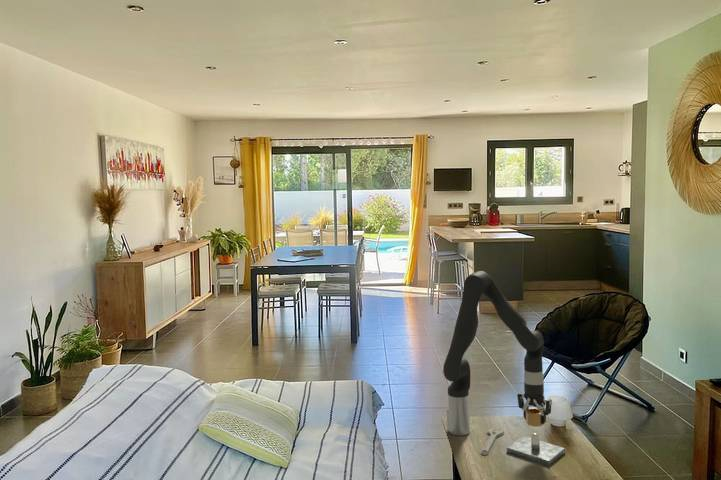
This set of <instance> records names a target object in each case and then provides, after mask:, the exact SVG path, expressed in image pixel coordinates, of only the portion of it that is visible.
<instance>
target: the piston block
mask: <svg viewBox="0 0 721 480" xmlns="http://www.w3.org/2000/svg"><path fill="white" fill-rule="evenodd" d="M506 453H509V454H512V455H515V456H517V457H520V458H523V459H527V460H530V461H533V462H535V463H539V464H542V465H544V466H548V467H550V466H551V465H552V464H553V463H554V462H556V461H557V460H558V459H559V458H560V457H562V456H563V455H564V454H565V453H566V450H565V447H562V446H560V445H556V444H553V443H549V442H545V441H542V440H540V434H538V433H537V432H534V433H532V434H531V435H530V437H529V436H526V435H522V436H521V437H519V438H517V440H515V441H514V442H512V443H511V444H509V445H508V446H507V447H506Z"/></svg>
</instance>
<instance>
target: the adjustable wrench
mask: <svg viewBox="0 0 721 480" xmlns="http://www.w3.org/2000/svg"><path fill="white" fill-rule="evenodd" d="M487 434H488V435H489V438H488V439H487V441H486V443H484V446H483V447H482V449H481V455H483V456H487V455H489V453H490V451H491V449H492V447H493V445H494V443H495V441H496V439H497V438H499V437H501V436H503V435H504V434H505V430H504V429H503V428H501V427H499V430H494V428H493V427H490V428H488V430H487Z"/></svg>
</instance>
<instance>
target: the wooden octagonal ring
mask: <svg viewBox="0 0 721 480" xmlns="http://www.w3.org/2000/svg"><path fill="white" fill-rule="evenodd" d="M525 423H526V424H527V425H528V426H531V427H534V428H535V427H542V426H543V425H544V424H541V413H540V411H539V410H538V409H537V407H529V408H528V409H527V410H526V420H525Z"/></svg>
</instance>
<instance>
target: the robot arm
mask: <svg viewBox="0 0 721 480" xmlns="http://www.w3.org/2000/svg"><path fill="white" fill-rule="evenodd" d="M482 295H484V296H485V297H486V298H488V300H489V301H490V302H491V304H492V306H494V309H495V310H496V313H497V315H498V317H499V318H500V320H501V322H503V324H504V325H505V326H506V327H507V328H508V329H509V330H510V331H511V332H512V333H513V335H514V337H515V338H516V340H517V342H518V344H519V345H520V346H521V347H522V348H523V349H525V351H526V353H525V356H524V359H523V367H524V368H523V369H524V370H523V391H524V393H523V392H522V391H520V392H518V394H517V395H516V396H517V403H518V404H517V405H518V408H519V409H522V411H523V412H522V413H523V419H524V420H525V421H526V410H527V409H528V408H530V407H533V408H537V409H538V410H539V411H540V413H541V424H543V425H545V423H547V416H549V415H550V414H551V413H552V402H553V401H552V399H550V398H549V399H547V398H545V395H544V394H545V392H544V391H545V390H544V389H545V388H544V387H545V386H544V385H545V384H544V382H545V379H544V371H543V370H544V369H543V368H544V367H543V355H544V348H545V347H544V345H545V341H544V340H545V339H544V336H543V334H541V332H540V331H538V330H530V328H529V327H528V326H527V321H526V320H525V318H523V316H522V315H521V314H520V313H519V312H518V311H517V310H516V309H515V308H514V307H513V306H512V304H511V303H510V302H509V301H508V299H507V298H506V297H505V295H504V294H503V293H502V291H501V290H500V289H499V287H498V286H497V285H496V282H494V280H493V279H492V277H491V276H490V275H489V274H488V273H487V272H485V271H484V270H483V271H482V270H477V271H475V272H473V273H471V274H469V275H468V276H467V277H466V278H465V280H464V283H463V288H462V297H461V303H460V306H459V311H458V314H457V318H456V322H455V326H454V331H453V335H452V339H451V342H450V346H449V349H448V351H447V355H446V358H445V360H444V363H443V368H442V373H443V376H444V378H445V379H446V380H447V381H448V382H451V383H450V384H449V385H448V387H447V403H448V404H447V406H448V408H447V410H446V431H447V432H449V433H450V434H452V435H454V436H466V435H469V434H470V432H471V427H470V424H471V423H470V422H471V420H470V419H471V418H470V396H469V394H470V392H469V391H470V389H471V366H470V364H469V361H468V360H467V359H466V358H465V357H464V356H465V353H466V352H467V350H468V349H469V348H470V346H471V345H472V343H473V341H474V339H475V338H476V335H477V331H478V327H479V315H478V307H479V303H480V299H481V297H482Z"/></svg>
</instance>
